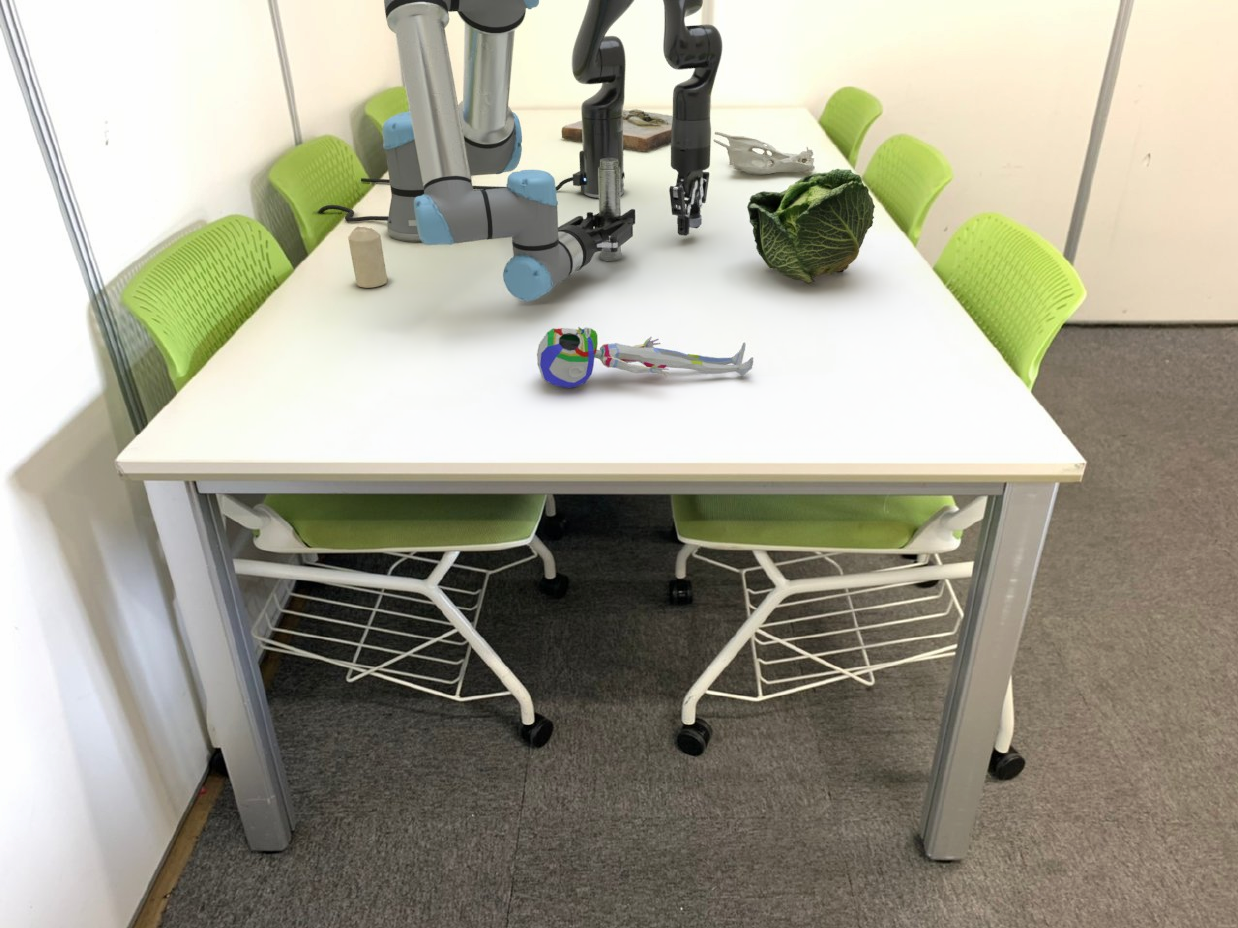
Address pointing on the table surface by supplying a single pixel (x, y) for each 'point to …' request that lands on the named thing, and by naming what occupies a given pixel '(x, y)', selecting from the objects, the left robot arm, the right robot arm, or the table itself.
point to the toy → (618, 358)
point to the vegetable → (812, 224)
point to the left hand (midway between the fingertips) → (622, 214)
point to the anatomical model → (764, 157)
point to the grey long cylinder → (609, 200)
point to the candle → (367, 257)
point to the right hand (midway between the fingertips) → (688, 230)
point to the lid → (694, 220)
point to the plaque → (634, 130)
